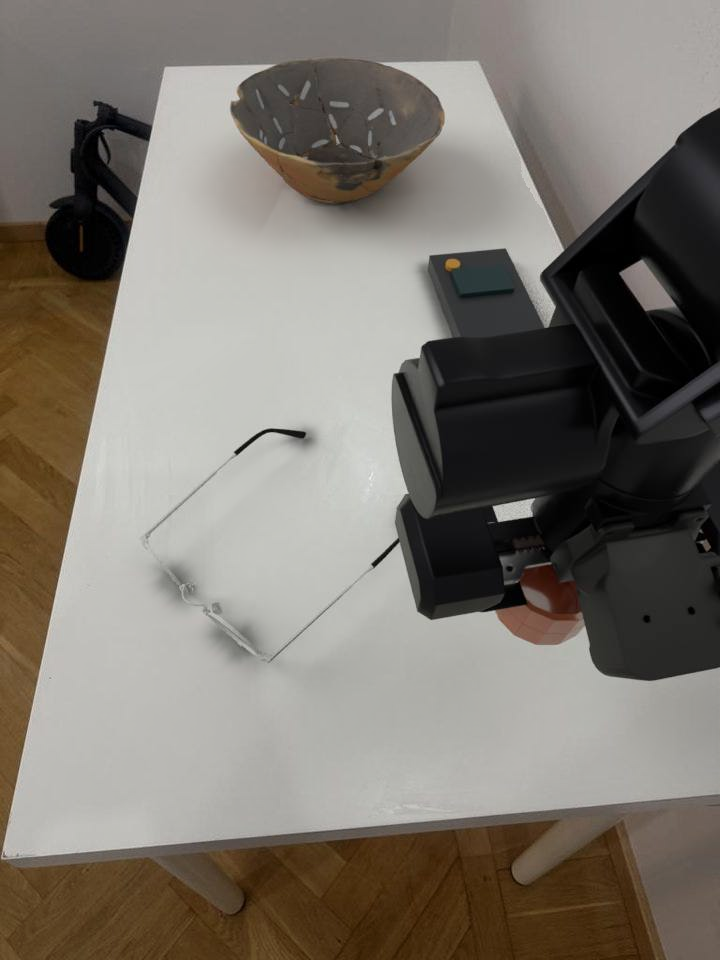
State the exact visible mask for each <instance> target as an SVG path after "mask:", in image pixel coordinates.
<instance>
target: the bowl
mask: <svg viewBox="0 0 720 960" xmlns="http://www.w3.org/2000/svg"><path fill="white" fill-rule="evenodd" d="M236 94H237V96H238V98H239V99H237V100H231V101H230V103H229V112H230V115H231V117H232V119H233V122H234V124H235V126H236V128H237V130H238V131H239V134H240V135H241V136H242V137H243V138H244V139H245V140H246V141H247V142H248V144H249V145H250V146H251V147H252V148H253V149H254V150H255V152H256V153H257V154H259V156H260V157H261V158H262V159H263V160H264V161H265V162H266V163H267V165H269V166H270V167H271V168H272V169H273V170H274V171H275V172H276V173H277V174H278V175H279V176H280V177H281V178H282V180H283V181H284V183H286V184H287V185H288V186H289V187H290V188H291V189H293V190H294V191H295V192H297V193H299V194H300V195H302V196H304V197H306V198H308V199H310V200H312V201H314V202H317V203H318V202H319V203H324V204H332V205H334V204H335V205H337V204H342V203H347V202H354V201H358V200H361V199H363V198H367V197H368V196H370V195H372V194H375V193H376V192H378V191H379V190H381V189H382V188H383V187H385V186H386V185H388V184H389V183H390V182H392V181H393V180H394V179H396V178H397V177H398V176H399V175H400V174H401V173H402V172H403V171H404V170H406V168H407V167H408V166H409V165H411V164H412V163H413V162H414V161H415V160H416V159H417V158H418V157H419V156H420V155H422V153H424V151H425V150H426V149H427V148H428V147H429V146H430V145H431V144H432V143H433V142H434V141H435V140H436V139H437V138H439V136H440V135H441V133H442V130H443V127H444V125H445V120H446V115H445V114H446V113H445V110H444V108H443V106H442V103H441V100H440V98H439V96H438V95H437V94H436V93H435V92H434V91H432V89H431V88H430V87H429V86H428V85H427V84H425V82H423V81H421V80H420V79H418V78H417V77H415V76H414V75H412V74H411V73H408V72H406V71H404V70H401V69H398V68H397V67H393V66H391V65H386V64H383V63H381V62H376V61H371V60H363V59H356V58H343V57H342V58H341V57H333V58H332V57H331V58H328V57H327V58H317V59H312V58H304V59H303V58H302V59H297V60H296V59H295V60H290V61H289V60H288V61H283V62H280V63H278V64H274V65H272V66H269V67H268V68H266V69H263V70H260V71H257V72H255V73H254V74H251V75H250V76H248V77H247V78H245V79H244V80H242V81H241V83H240V84H239V85H238V86H237V88H236ZM337 140H338V141H339V143H337Z"/></svg>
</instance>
